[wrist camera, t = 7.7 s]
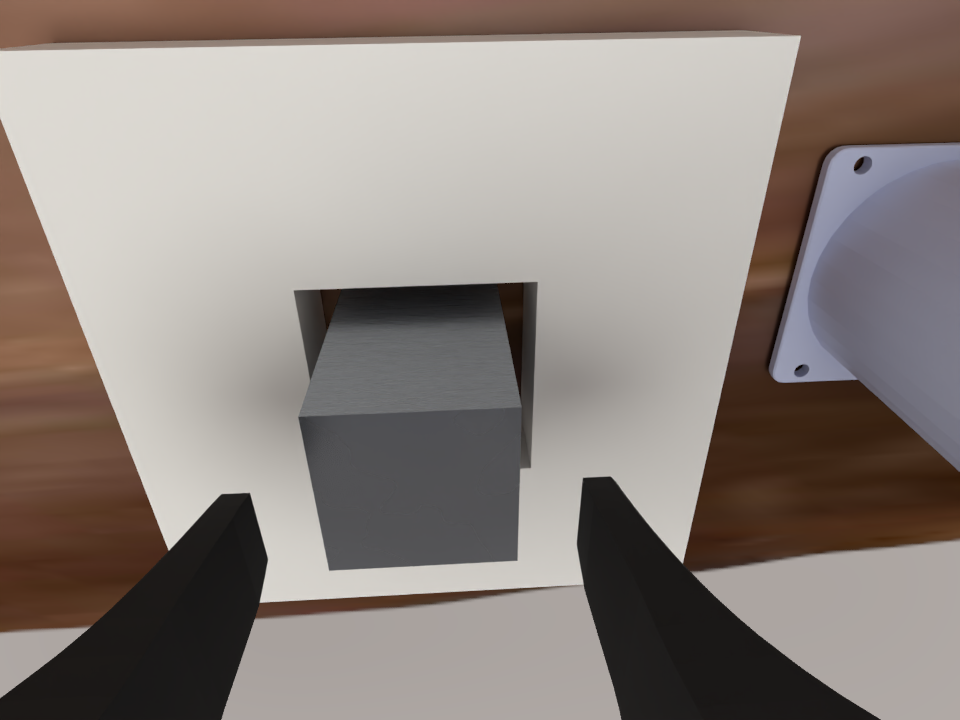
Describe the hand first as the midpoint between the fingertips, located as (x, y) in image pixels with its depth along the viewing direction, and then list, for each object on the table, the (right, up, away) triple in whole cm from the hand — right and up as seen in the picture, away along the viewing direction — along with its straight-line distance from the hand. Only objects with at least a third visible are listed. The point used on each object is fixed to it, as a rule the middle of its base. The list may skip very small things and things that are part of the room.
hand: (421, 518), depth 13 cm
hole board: (-1, +4, +7) cm, 8 cm away
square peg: (-1, +5, +7) cm, 8 cm away
